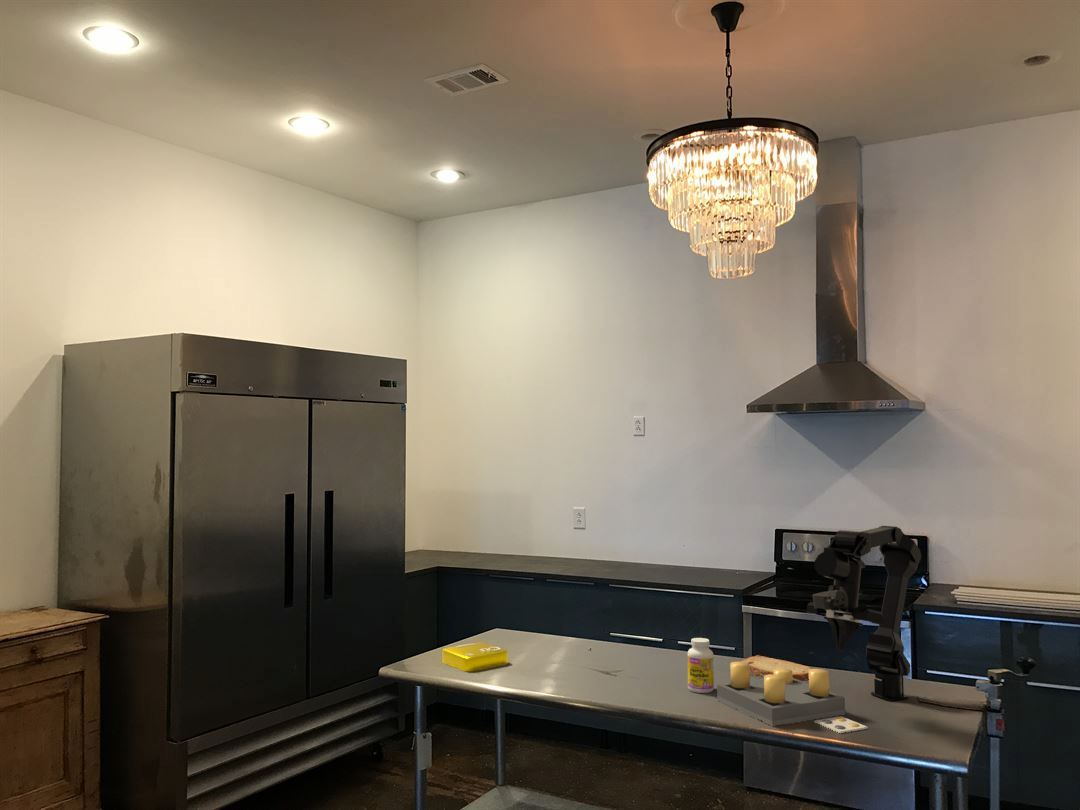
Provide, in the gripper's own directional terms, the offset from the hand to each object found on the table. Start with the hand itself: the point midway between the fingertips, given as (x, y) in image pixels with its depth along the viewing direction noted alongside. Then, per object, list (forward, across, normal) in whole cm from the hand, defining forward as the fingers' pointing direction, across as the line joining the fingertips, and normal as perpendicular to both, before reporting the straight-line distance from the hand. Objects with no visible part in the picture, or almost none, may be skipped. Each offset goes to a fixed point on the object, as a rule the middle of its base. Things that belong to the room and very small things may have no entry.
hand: (839, 650), depth 193 cm
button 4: (+11, -5, 0) cm, 12 cm away
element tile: (+24, -85, -54) cm, 104 cm away
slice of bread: (+10, -37, +15) cm, 41 cm away
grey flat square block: (+16, -12, -5) cm, 21 cm away
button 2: (+14, -6, -12) cm, 19 cm away
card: (+16, +4, -2) cm, 17 cm away
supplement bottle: (+17, -33, -13) cm, 39 cm away
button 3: (+13, -18, +1) cm, 22 cm away
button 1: (+13, -19, -12) cm, 26 cm away
